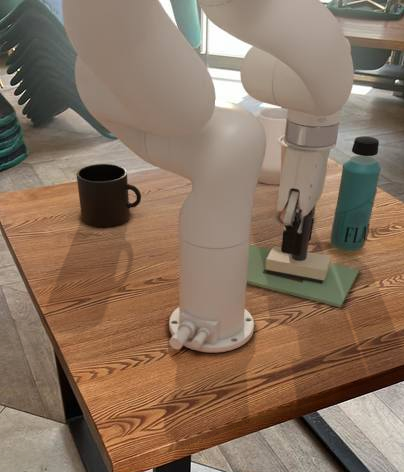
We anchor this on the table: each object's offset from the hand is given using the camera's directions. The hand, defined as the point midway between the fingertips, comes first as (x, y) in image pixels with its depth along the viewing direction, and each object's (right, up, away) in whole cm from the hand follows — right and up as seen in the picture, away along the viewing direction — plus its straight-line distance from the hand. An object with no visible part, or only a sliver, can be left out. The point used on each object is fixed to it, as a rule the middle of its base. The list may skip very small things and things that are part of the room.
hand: (296, 245), depth 94 cm
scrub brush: (+1, -4, +3) cm, 5 cm away
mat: (0, -4, +4) cm, 6 cm away
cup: (+1, +23, +38) cm, 44 cm away
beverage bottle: (+11, +1, +11) cm, 15 cm away
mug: (-33, +9, +20) cm, 40 cm away
